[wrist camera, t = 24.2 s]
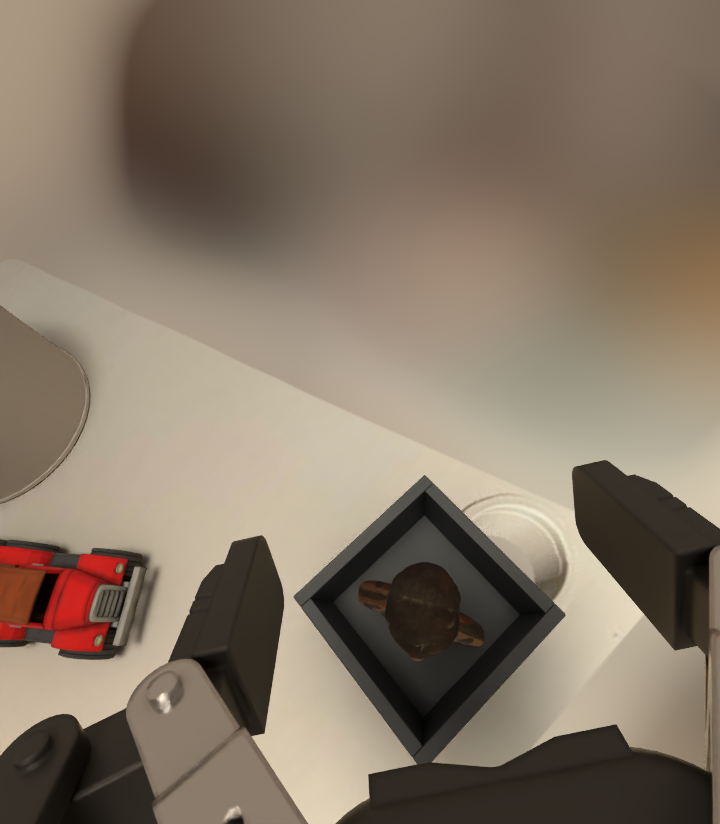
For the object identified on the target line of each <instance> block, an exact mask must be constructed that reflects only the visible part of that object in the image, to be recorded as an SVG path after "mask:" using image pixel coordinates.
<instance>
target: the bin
mask: <svg viewBox="0 0 720 824" xmlns="http://www.w3.org/2000/svg"><path fill="white" fill-rule="evenodd" d="M420 562H429V563H434V564H437V565H439V566H441V567H443V568H444V569H445V570H446V571H447V572H448V574H449V576H450V577H451V578H452V579H453V581H454V583H455V584H456V585H457V586H458V591H459V592H460V597H461V601H460V612H461V613H463V614H464V615H466V616H468V617H470V618H472V619H473V620H475V621H476V622H477V623H479V624H480V625H481V626H482V628H483V630H484V634H485V638H484V643H483V644H482V645H481V646H468V645H464V644H461V643H459V642H453V643H452V645H451V646H450V647H449V648H447V649H446V650H444V651H442V652H440V653H438V654H436V655H434V656H432V657H429V658H425V659H423V660H421V661H414V660H413V659H412V658H411V657H410V656H409V655H408V654H407V652H406V651H404V650H403V649H402V648H401V647H400V646H399V645H398V644H397V642H396V641H395V640H394V638H393V637H392V635H391V633H390V630H389V628H388V624H387V621H386V619H385V617H384V616H383V615H381V614H380V613H379V612H376V611H374V610H371V609H369V608H367V607H366V606H364V605H363V604H361V603H360V602H359V599H358V593H359V586H360V585H361V584H362V583H363V582H364V581H367V580H377V581H382V582H386V583H390V584H391V583H392V580H393V579H394V577H395V576H396V575H397V574H398V573H400V572H401V571H403V570H404V569H405V568H406V567H408V566H410V565H413V564H416V563H420ZM294 599H295V600H296V601H297V603H298V604H299V605H300V606H301V608H302V609H303V611H304V612H305V613H306V615H307V616H308V617H309V619H310V620H311V621H312V623H313V624H314V626H315V627H316V628H317V630H318V631H319V632H320V634H321V635H322V636H323V638H324V639H325V640H326V642H327V643H328V644H329V646H330V647H331V648H332V650H333V651H334V652H335V654H336V655H337V657H338V658H339V659H340V661H341V662H342V663H343V665H344V666H345V667H346V669H347V670H348V671H349V673H350V674H351V675H352V677H353V678H354V679H355V681H356V682H357V683H358V685H359V686H360V688H361V689H362V690H363V692H364V693H365V694H366V696H367V697H368V698H369V700H370V701H371V702H372V704H373V705H374V706H375V708H376V709H377V710H378V712H379V713H380V714H381V716H382V717H383V719H384V720H385V721H386V723H387V724H388V725H389V727H390V728H391V729H392V731H393V732H394V733H395V735H396V736H397V737H398V739H399V740H400V741H401V743H402V744H403V745H404V747H405V748H406V750H407V751H408V752H409V754H410V755H411V756H412V757H413V759H414V760H415V762H416V763H417V764H423V763H428V762H430V763H431V762H432V761H433V760H434V759H435V758H436V757H437V755H438V754H439V753H440V752H441V751H442V750H443V749H444V748H445V747H446V746H447V744H448V743H449V742H450V741H451V740H452V739H453V738H454V737H455V736H456V735H457V734H458V732H459V731H460V730H461V729H462V728H463V727H464V726H465V725H466V724H467V723H468V722H469V720H470V719H471V718H472V717H473V716H474V715H475V714H476V713H477V712H478V711H479V710H480V708H481V707H482V706H483V705H484V704H485V703H486V702H487V701H488V700H489V699H490V697H491V696H492V695H493V694H494V693H495V692H496V691H497V690H498V689H499V688H500V687H501V685H502V684H503V683H504V682H505V681H506V680H507V679H508V678H509V677H510V676H511V675H512V673H513V672H514V671H515V670H516V669H517V668H518V667H519V666H520V665H521V664H522V662H523V661H524V660H525V659H526V658H527V657H528V656H529V655H530V654H531V653H532V652H533V650H534V649H535V648H536V647H537V646H538V645H539V644H540V643H541V642H542V641H543V640H544V638H545V637H546V636H547V635H548V634H549V633H550V632H551V631H552V630H553V629H554V628H555V626H556V625H557V624H558V623H559V622H560V621H561V620H562V619H563V618H564V617H565V613H564V612H563V611H562V610H561V609H560V608H559V607H558V606H557V605H555V604H554V602H553V601H552V600H551V599H550V598H549V597H548V596H547V595H546V594H545V593H544V592H542V591H541V590H540V589H539V588H538V587H537V586H536V585H535V584H534V583H533V582H532V581H531V580H530V579H529V578H528V577H527V576H526V575H525V574H524V573H523V572H522V571H521V570H520V569H519V568H518V567H517V566H516V565H515V564H514V563H513V562H512V561H511V560H510V559H509V558H508V557H507V556H506V555H505V554H504V553H503V552H502V551H501V550H500V549H499V548H498V547H497V546H496V545H495V544H494V543H493V542H492V541H491V540H490V539H489V538H488V537H487V536H486V535H485V534H484V533H483V532H482V531H481V530H480V529H479V528H478V527H477V526H476V525H475V524H474V523H473V522H472V521H471V520H470V519H469V518H468V517H467V516H466V515H465V514H464V513H463V512H462V511H461V510H460V509H459V508H458V507H457V506H456V505H455V504H454V503H453V502H452V501H451V500H450V499H449V498H448V497H447V496H446V495H445V494H444V493H443V492H442V491H441V490H440V489H439V488H438V487H437V486H436V485H435V484H433V482H431V481H430V480H429V479H428V478H427V477H426V476H425V475H424V476H423V477H422V478H421V479H420V480H419V481H418V482H417V483H416V484H414V485H413V486H412V487H411V488H410V489H409V490H408V491H407V492H406V493H405V494H404V495H403V496H401V497H400V498H399V499H398V500H397V501H396V502H395V503H394V504H393V505H392V506H391V507H390V508H389V509H387V510H386V511H385V512H384V513H383V514H382V515H381V516H380V517H379V518H378V519H377V520H376V521H374V522H373V523H372V524H371V525H370V526H369V527H368V528H367V529H366V530H365V531H364V532H363V533H362V534H360V535H359V536H358V537H357V538H356V539H355V540H354V541H353V542H352V543H351V544H350V545H349V546H348V547H346V548H345V549H344V550H343V551H342V552H341V553H340V554H339V555H338V556H337V557H336V558H335V559H333V560H332V561H331V562H330V563H329V564H328V565H327V566H326V567H325V568H324V569H323V570H322V571H321V572H319V573H318V574H317V575H316V576H315V577H314V578H313V579H312V580H311V581H310V582H309V583H308V584H306V585H305V586H304V587H303V588H302V589H301V590H300V591H299V592H298V593H297V594H296V595H295V596H294Z"/></svg>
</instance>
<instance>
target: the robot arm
mask: <svg viewBox="0 0 720 824" xmlns="http://www.w3.org/2000/svg"><path fill="white" fill-rule="evenodd" d="M572 480H573V494H574V507H575V519H576V525H577V528H578V531H579V534H580V536H581V538H582V540H583V542H584V543H585V544H586V546H587V547H588V548H589V549H590V550H591V552H592V553H593V554H594V555H595V556H596V558H597V559H598V560H599V561H600V562H601V564H602V565H603V566H604V567H605V568H606V569H607V571H608V572H609V573H610V574H611V575H612V577H613V578H614V579H615V580H616V581H617V582H618V584H619V585H620V586H621V587H622V588H623V590H624V591H625V592H626V593H627V594H628V596H629V597H630V598H631V599H632V600H633V601H634V603H635V604H636V605H637V606H638V607H639V609H640V610H641V611H642V612H643V613H644V615H645V616H646V617H647V618H648V619H649V620H650V622H651V623H652V624H653V625H654V626H655V627H656V629H657V630H658V631H659V632H660V633H661V635H662V636H663V637H664V638H665V639H666V640H667V642H668V643H669V644H670V645H671V646H672V648H673V649H674V650H680V649H685V648H689V647H694V646H698V647H699V648H700V649H701V650H702V651H703V653H704V654H705V751H704V753H705V755H704V759H705V760H704V769H702V768H700V767H698V766H696V765H694V764H691V763H689V762H686V761H684V760H682V759H679V758H676V757H674V756H670V755H667V754H664V753H660V752H657V751H652V750H647V749H642V748H634V747H629V745H628V744H627V742H626V741H625V739H624V737H623V735H622V733H621V732H620V730H619V728H618V727H617V725H612V726H606V727H601V728H596V729H591V730H586V731H581V732H576V733H572V734H567V735H562V736H557V737H553V738H552V739H550V740H548V741H546V742H544V743H542V744H540V745H539V746H537V747H535V748H533V749H531V750H529V751H527V752H526V753H524V754H522V755H520V756H518V757H516V758H514V759H513V760H511V761H509V762H507V763H505V764H503V765H501V766H498V767H479V766H467V765H455V764H442V763H430V762H428V763H423V764H418V765H413V766H408V767H403V768H398V769H393V770H388V771H383V772H378V773H373V774H368V777H369V795H370V798H369V799H367V800H366V801H364V802H362V803H360V804H359V805H357V806H356V807H355V808H353V809H352V810H351V811H349V812H348V813H347V814H345V815H344V816H343V817H342V818H341V819H340V820H339V821H338V822H337V823H336V824H720V529H719V528H718V527H716V526H715V525H714V524H712V523H711V522H709V521H708V520H707V519H705V518H704V517H703V516H701V515H700V514H698V513H697V512H696V511H694V510H693V509H692V508H690V507H689V508H687V506H686V504H685V503H683V502H682V501H681V500H679V499H678V498H676V497H673V495H672V494H671V493H669V492H668V491H667V490H665V489H664V488H663V487H661V486H660V485H658V484H657V483H655V482H653V481H650V480H647V479H645V478H642V477H639V476H636V475H630V476H627V475H625V474H624V473H623V472H621V471H620V470H619V469H618V468H616V467H615V466H614V465H612V464H611V463H610V462H608V461H606V460H604V461H599V462H594V463H590V464H585V465H581V466H576V467H574V468H573V471H572ZM283 610H284V595H283V589H282V584H281V581H280V578H279V575H278V573H277V570H276V567H275V564H274V561H273V558H272V556H271V553H270V550H269V547H268V544H267V542H266V539H265V538H264V537H263V536H262V535H261V536H256V537H252V538H247V539H243V540H238V541H234V542H233V543H232V544H231V547H230V550H229V552H228V555H227V558H226V561H225V563H224V564H221V565H216V566H215V567H214V568H213V569H212V570H211V571H210V573H209V574H208V575H207V576H206V577H205V578H204V579H203V581H202V582H201V585H200V587H199V589H198V592H197V594H196V597H195V601H193V604H192V606H191V609H190V611H189V612H190V614H189V615H188V616H187V618H186V621H185V623H184V625H183V628H182V630H181V633H180V635H179V637H178V640H177V642H176V645H175V647H174V649H173V652H172V654H171V657H170V659H169V661H168V663H167V664H165V665H163V666H161V667H159V668H158V669H156V670H154V671H153V672H152V673H151V674H149V675H148V676H147V677H146V678H145V679H144V680H143V681H142V682H141V683H140V684H139V685H138V686H137V688H136V689H135V690H134V692H133V694H132V695H131V697H130V699H129V702H128V704H127V708H125V709H124V710H122V711H120V712H118V713H116V714H114V715H112V716H109V717H107V718H105V719H103V720H101V721H99V722H97V723H95V724H93V725H91V726H89V727H87V728H85V729H82V727H81V725H80V724H79V722H78V720H77V719H76V718H75V717H74V716H72V715H69V714H61V715H56V716H53V717H49V718H47V719H45V720H43V721H41V722H39V723H37V724H36V725H34V726H32V727H31V728H30V729H28V730H27V731H25V732H24V733H23V734H22V735H20V736H19V737H18V738H17V739H16V740H15V741H14V742H12V743H11V745H10V746H9V747H8V748H7V749H6V750H5V751H4V752H3V753H2V755H1V756H0V824H308V823H307V822H306V820H305V818H304V817H303V815H302V814H301V812H300V811H299V809H298V808H297V806H296V805H295V803H294V802H293V800H292V798H291V797H290V795H289V794H288V792H287V791H286V789H285V788H284V786H283V785H282V783H281V782H280V780H279V779H278V777H277V775H276V774H275V772H274V771H273V769H272V768H271V766H270V765H269V763H268V762H267V760H266V759H265V757H264V756H263V754H262V752H261V751H260V749H259V748H258V746H257V745H256V743H255V742H254V740H253V739H252V737H251V736H254V735H259V734H264V733H265V726H266V720H267V713H268V707H269V701H270V694H271V688H272V681H273V675H274V668H275V662H276V655H277V649H278V642H279V636H280V629H281V623H282V616H283Z"/></svg>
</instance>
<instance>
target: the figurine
mask: <svg viewBox="0 0 720 824" xmlns="http://www.w3.org/2000/svg"><path fill="white" fill-rule="evenodd" d="M358 599H359V602H360V603H361V604H363V605H364V606H366V607H367V608H369V609H371V610H374V611H376V612H379V613H380V614H381V615H383V616H384V617H385V619H386V621H387V624H388V628H389V630H390V633H391V635H392V637H393V638H394V640H395V641H396V642H397V644H398V645H399V646H400V647H401V648H402V649H403V650H404V651H406V652H407V654H408V655H409V656H410V657H411V658H412V659H413V660H414V661H421V660H423V659H425V658H429V657H432V656H434V655H436V654H438V653H440V652H442V651H444V650H446V649H447V648H449V647H450V646H451V645H452V643H453V642H459V643H461V644H464V645H468V646H481V645H482V644H483V643H484V638H485V634H484V630H483V628H482V626H481V625H480V624H479V623H477V622H476V621H475V620H473V619H472V618H470V617H468V616H466V615H464V614H463V613H461V612H460V601H461V597H460V592H459V591H458V586H457V585H456V584H455V583H454V581H453V579H452V578H451V577H450V576H449V574H448V572H447V571H446V570H445V569H444V568H443V567H441V566H439V565H437V564H434V563H429V562H420V563H416V564H413V565H410V566H408V567H406V568H405V569H404V570H403V571H401V572H400V573H398V574H397V575H396V576H395V577H394V579H393V580H392V583H391V584H390V583H386V582H382V581H377V580H367V581H364V582H363V583H362V584H361V585H360V586H359V593H358Z"/></svg>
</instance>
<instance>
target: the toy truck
mask: <svg viewBox="0 0 720 824" xmlns="http://www.w3.org/2000/svg"><path fill="white" fill-rule="evenodd" d="M59 550H60V548H59V547H58V546H53V545H48V544H41V543H34V542H27V541H17V540H9V541H6V540H0V647H20V646H25V645H27V641H34V642H42V643H49V644H51V647H54V648H57V649H60V651H59V654H58V655H60V656H63V657H67V658H75V659H89V660H102V659H110V658H114V656H115V652H116V648H117V646H125V645H126V642H127V638H128V635H129V631H130V627H131V624H132V620H133V616H134V613H135V609H136V605H137V602H138V598H139V594H140V590H141V587H142V583H143V579H144V576H145V572H146V568H143V567H139V566H140V564H139V563H140V562H141V558H142V555H141V554H138V553H133V552H127V551H120V550H113V549H103V548H93V549H92V552H91V554H81V555H75V554H64V553H59ZM123 576H130V577H132V578H131V581H130V582H123V581H122V579H123ZM128 588H129V589H128ZM127 590H128V592H127ZM125 592H127V596H126V599H125V603H124V606H123V610H122V613H121V617H118V615H119V611H120V608H121V604H122V600H123V597H124V593H125ZM119 618H120V621H119ZM109 627H116V628H117V631H112V630H108V628H109Z"/></svg>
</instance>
